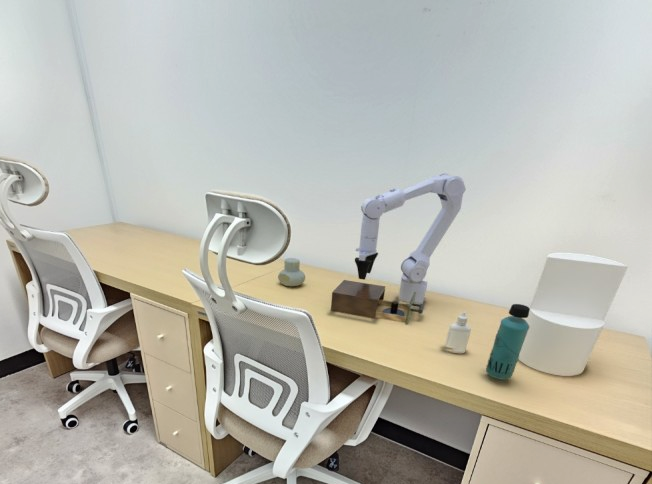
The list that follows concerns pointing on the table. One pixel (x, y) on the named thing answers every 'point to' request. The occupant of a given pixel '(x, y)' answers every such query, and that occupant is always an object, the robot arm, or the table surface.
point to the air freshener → (291, 273)
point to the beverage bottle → (508, 343)
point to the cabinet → (357, 298)
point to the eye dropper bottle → (458, 335)
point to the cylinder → (569, 311)
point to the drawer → (401, 306)
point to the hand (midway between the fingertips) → (364, 275)
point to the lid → (394, 309)
